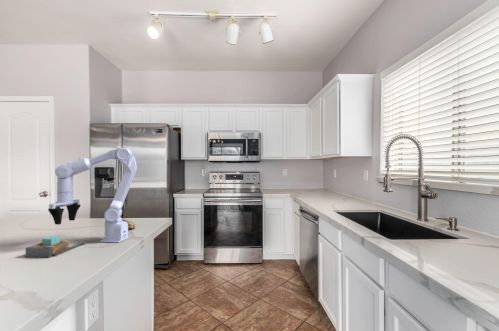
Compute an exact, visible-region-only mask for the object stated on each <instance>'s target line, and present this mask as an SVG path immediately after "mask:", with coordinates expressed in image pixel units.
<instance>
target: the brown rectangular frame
mask: <svg viewBox="0 0 499 331" xmlns="http://www.w3.org/2000/svg"><path fill="white" fill-rule="evenodd" d="M30 247H53V256H54V253H56V252H59V251H61V250H64V249H66V248H69V247H70V240H61V239H60V243H57V244H54V245H52V246H42V242H40V243H36V244H34V245H31V246H30Z"/></svg>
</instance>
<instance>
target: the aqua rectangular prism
mask: <svg viewBox="0 0 499 331" xmlns="http://www.w3.org/2000/svg"><path fill="white" fill-rule="evenodd" d="M60 240H61V236H60V235H59V236H58V235H50V236H47V237H44V238H41V243H42V246H52V245H54V244H57V243H60Z"/></svg>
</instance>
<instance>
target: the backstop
mask: <svg viewBox="0 0 499 331" xmlns="http://www.w3.org/2000/svg"><path fill="white" fill-rule="evenodd" d="M83 245H85V241H80V242H79V243H77V244H74V245H72V246H69V248H66V249H64V250H61V251H59V252H56V253H54V255H53V247H31V246H28V247H25V258H46V259H47V258H52V257H58V256H59V255H62V254H65V253H67V252H69V251H71V250H74V249H76V248H79V247H80V246H83Z"/></svg>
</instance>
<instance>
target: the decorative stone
mask: <svg viewBox="0 0 499 331" xmlns="http://www.w3.org/2000/svg"><path fill="white" fill-rule="evenodd" d="M121 219H122V221H125V222H127V223H128V230H134V228H135V229H136V227H135V226H136V223H135V222H133V221H131V220H126V219H123V218H121Z"/></svg>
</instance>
